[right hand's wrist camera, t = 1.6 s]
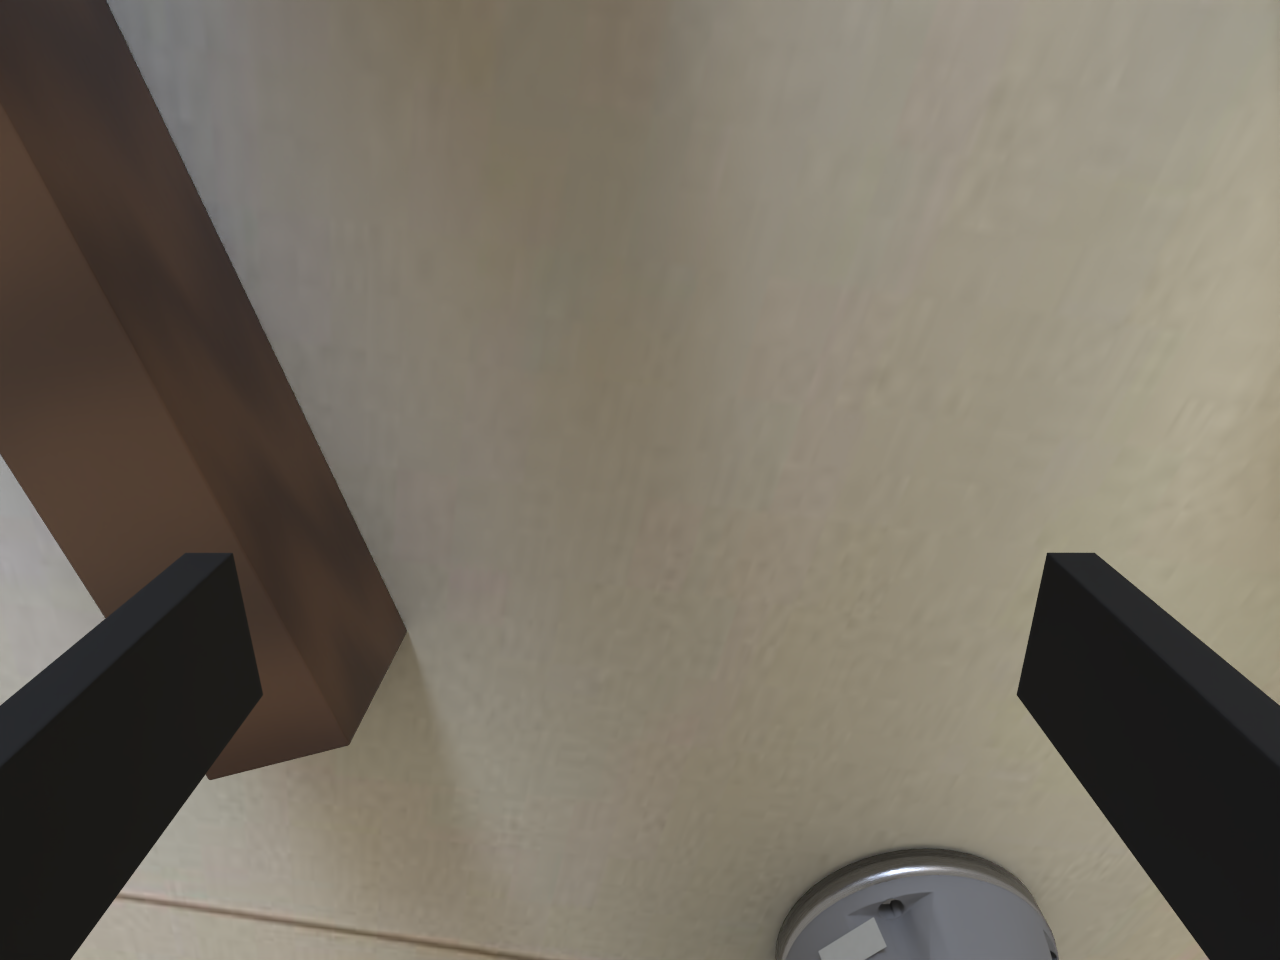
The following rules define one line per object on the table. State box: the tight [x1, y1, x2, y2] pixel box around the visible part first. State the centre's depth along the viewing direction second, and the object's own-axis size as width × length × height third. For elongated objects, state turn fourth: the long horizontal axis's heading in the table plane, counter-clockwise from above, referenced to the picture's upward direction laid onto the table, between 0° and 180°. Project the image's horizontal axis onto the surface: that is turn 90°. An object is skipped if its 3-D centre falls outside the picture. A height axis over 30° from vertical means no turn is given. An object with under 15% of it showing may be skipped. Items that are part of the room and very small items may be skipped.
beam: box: [0, 0, 407, 780], centre depth 28 cm, size 34×6×8 cm, turn 17°
